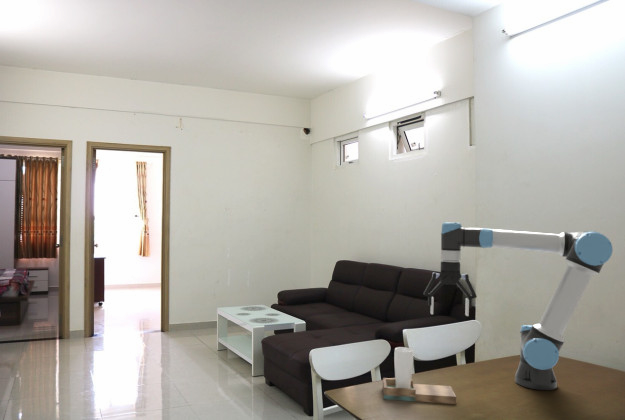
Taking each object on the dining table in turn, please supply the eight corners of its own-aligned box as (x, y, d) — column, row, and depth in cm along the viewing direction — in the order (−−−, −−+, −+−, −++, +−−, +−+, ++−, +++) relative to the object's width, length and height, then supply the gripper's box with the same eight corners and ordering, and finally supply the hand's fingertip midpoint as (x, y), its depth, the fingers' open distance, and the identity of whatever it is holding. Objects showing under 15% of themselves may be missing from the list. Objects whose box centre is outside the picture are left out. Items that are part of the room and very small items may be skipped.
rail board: (450, 392, 181) (450, 382, 181) (456, 403, 170) (456, 392, 170) (382, 388, 184) (382, 377, 184) (383, 399, 173) (384, 387, 173)
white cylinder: (413, 389, 180) (414, 348, 180) (411, 395, 173) (412, 352, 174) (395, 386, 182) (396, 346, 182) (391, 392, 176) (393, 350, 176)
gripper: (480, 261, 197) (479, 314, 196) (417, 259, 199) (416, 311, 199) (485, 263, 189) (484, 318, 189) (419, 260, 192) (418, 314, 191)
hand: (449, 314), depth 194 cm, fingers open, 13 cm apart
